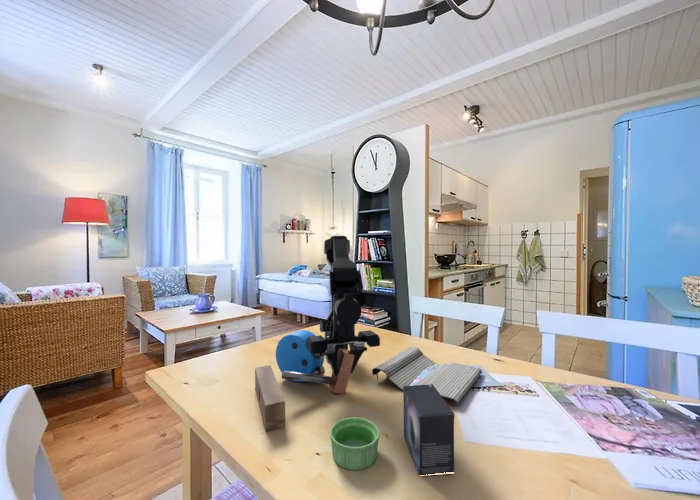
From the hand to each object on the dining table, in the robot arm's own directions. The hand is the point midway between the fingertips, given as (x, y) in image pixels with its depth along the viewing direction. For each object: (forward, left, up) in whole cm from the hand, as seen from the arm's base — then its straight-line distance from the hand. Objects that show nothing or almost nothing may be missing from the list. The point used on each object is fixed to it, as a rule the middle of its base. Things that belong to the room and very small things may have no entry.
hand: (343, 374), depth 79 cm
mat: (-25, +3, -5) cm, 26 cm away
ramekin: (+7, +23, -5) cm, 24 cm away
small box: (-5, +28, -5) cm, 29 cm away
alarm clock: (+13, -17, +3) cm, 21 cm away
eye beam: (+19, 0, -4) cm, 19 cm away
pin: (+8, 0, -2) cm, 8 cm away
